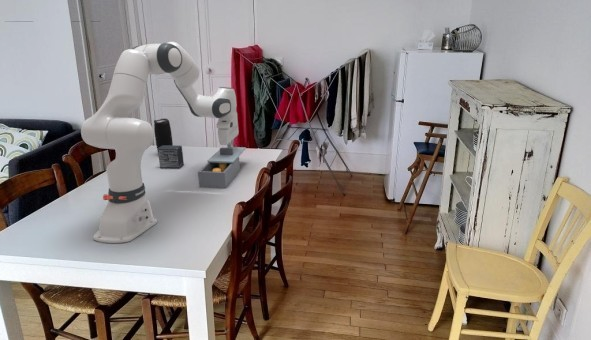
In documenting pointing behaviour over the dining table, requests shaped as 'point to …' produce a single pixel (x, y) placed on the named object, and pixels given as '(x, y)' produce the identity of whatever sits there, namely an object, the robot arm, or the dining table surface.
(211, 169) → the block
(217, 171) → the peg
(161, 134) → the portable speaker
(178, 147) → the small box
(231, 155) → the lid
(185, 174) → the dining table surface
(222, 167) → the seated jaw
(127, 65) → the robot arm
